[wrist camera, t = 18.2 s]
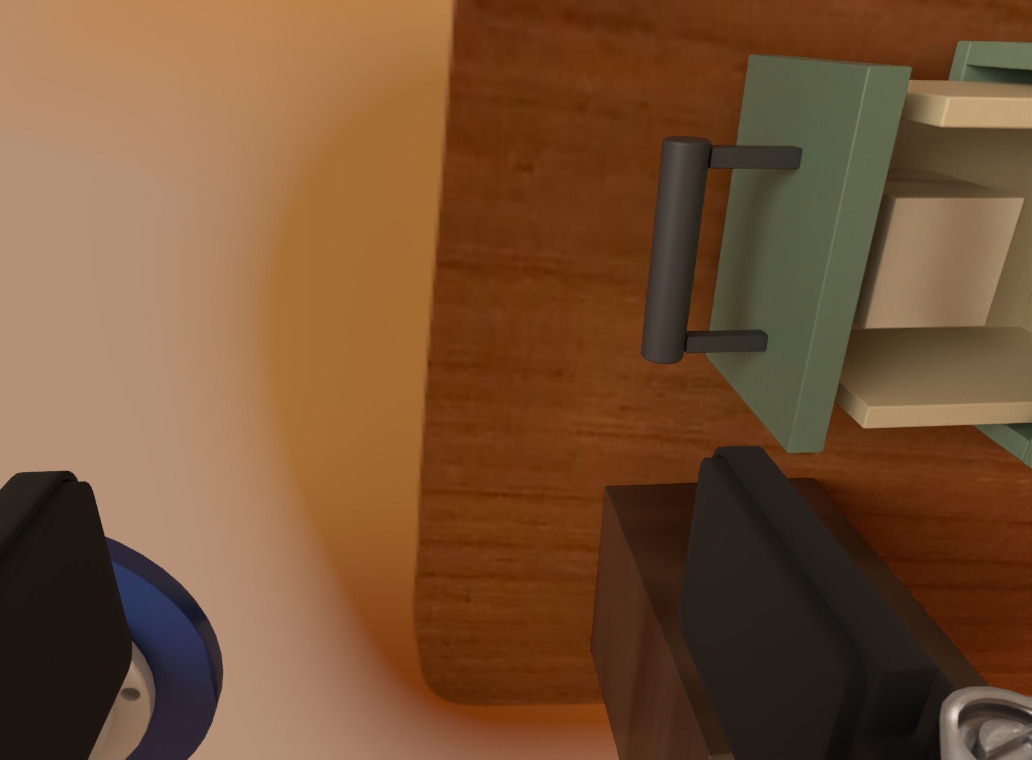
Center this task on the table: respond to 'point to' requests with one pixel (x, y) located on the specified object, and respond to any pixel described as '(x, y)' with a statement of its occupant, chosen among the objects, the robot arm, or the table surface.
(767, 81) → the drawer
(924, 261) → the block
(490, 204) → the table surface
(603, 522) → the stand
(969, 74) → the cabinet
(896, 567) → the table surface
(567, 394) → the table surface
